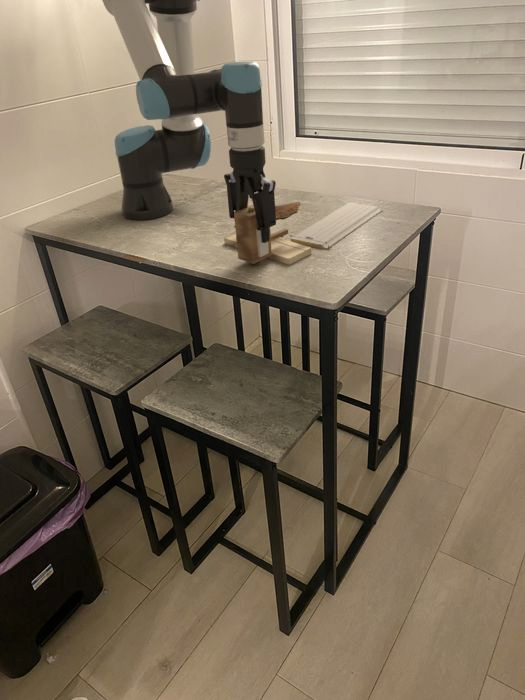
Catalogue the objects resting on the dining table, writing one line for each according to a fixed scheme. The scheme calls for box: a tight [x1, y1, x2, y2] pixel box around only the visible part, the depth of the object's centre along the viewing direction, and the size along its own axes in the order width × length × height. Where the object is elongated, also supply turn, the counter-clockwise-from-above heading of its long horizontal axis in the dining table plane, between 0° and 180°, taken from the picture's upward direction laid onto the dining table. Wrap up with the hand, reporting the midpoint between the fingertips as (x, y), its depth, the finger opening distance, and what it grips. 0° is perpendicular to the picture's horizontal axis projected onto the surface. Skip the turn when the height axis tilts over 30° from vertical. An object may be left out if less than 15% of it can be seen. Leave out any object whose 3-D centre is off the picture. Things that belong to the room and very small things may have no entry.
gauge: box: [233, 204, 289, 265], centre depth 123 cm, size 5×14×12 cm, turn 136°
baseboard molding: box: [290, 202, 381, 250], centre depth 140 cm, size 31×3×12 cm
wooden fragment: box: [275, 201, 301, 221], centre depth 151 cm, size 26×11×1 cm, turn 131°
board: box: [223, 232, 313, 266], centre depth 131 cm, size 22×8×2 cm, turn 46°
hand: (254, 251), depth 123 cm, fingers closed on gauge, 5 cm apart
